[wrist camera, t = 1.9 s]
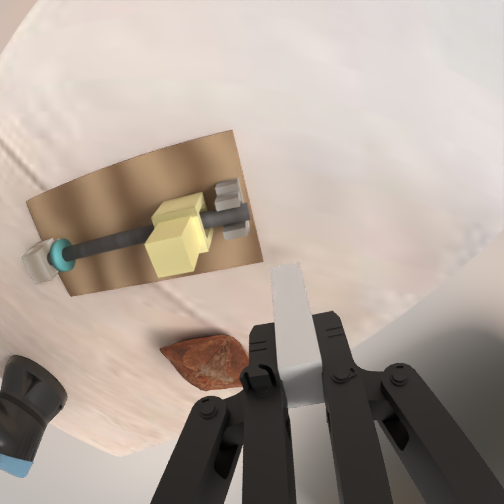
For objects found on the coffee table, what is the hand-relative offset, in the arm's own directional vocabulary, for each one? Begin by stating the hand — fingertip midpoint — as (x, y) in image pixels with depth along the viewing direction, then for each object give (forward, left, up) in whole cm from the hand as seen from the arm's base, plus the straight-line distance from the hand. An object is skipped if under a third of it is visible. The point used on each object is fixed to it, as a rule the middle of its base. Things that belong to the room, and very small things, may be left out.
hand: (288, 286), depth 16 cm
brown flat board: (-15, 0, -16) cm, 22 cm away
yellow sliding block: (-8, 0, -14) cm, 17 cm away
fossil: (-11, -19, -16) cm, 27 cm away
